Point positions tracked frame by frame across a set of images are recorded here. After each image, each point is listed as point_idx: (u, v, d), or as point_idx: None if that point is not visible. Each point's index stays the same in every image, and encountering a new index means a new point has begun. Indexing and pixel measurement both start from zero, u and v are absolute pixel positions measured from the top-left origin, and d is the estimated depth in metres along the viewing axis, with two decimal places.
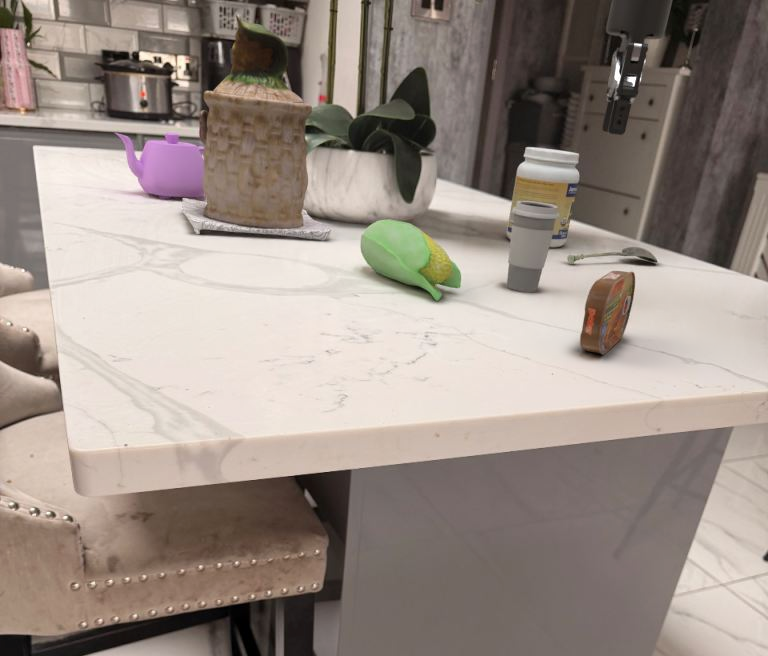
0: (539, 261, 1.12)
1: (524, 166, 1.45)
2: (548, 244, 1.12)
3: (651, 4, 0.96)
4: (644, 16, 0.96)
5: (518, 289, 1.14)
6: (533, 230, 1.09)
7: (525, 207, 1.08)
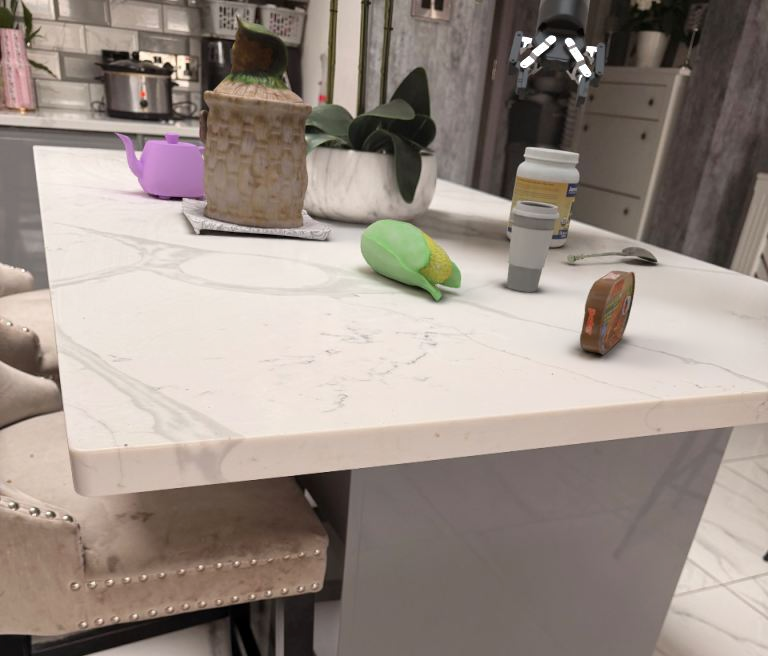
0: (539, 261, 1.12)
1: (524, 166, 1.45)
2: (548, 244, 1.12)
3: (540, 12, 1.17)
4: None
5: (518, 289, 1.14)
6: (533, 230, 1.09)
7: (525, 207, 1.08)
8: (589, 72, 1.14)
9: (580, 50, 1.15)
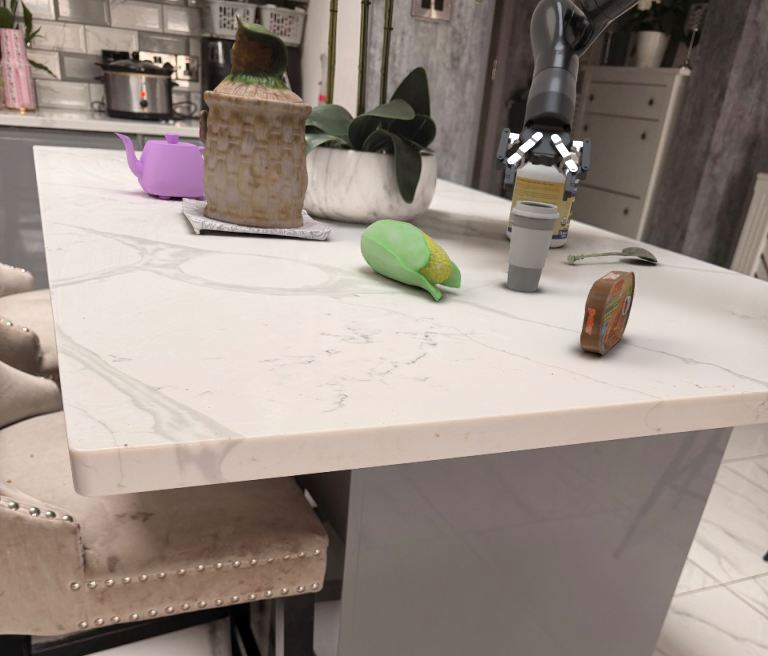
0: (539, 261, 1.12)
1: (524, 166, 1.45)
2: (548, 244, 1.12)
3: (527, 109, 1.20)
4: None
5: (518, 289, 1.14)
6: (533, 231, 1.09)
7: (525, 207, 1.08)
8: (575, 167, 1.16)
9: (566, 145, 1.17)
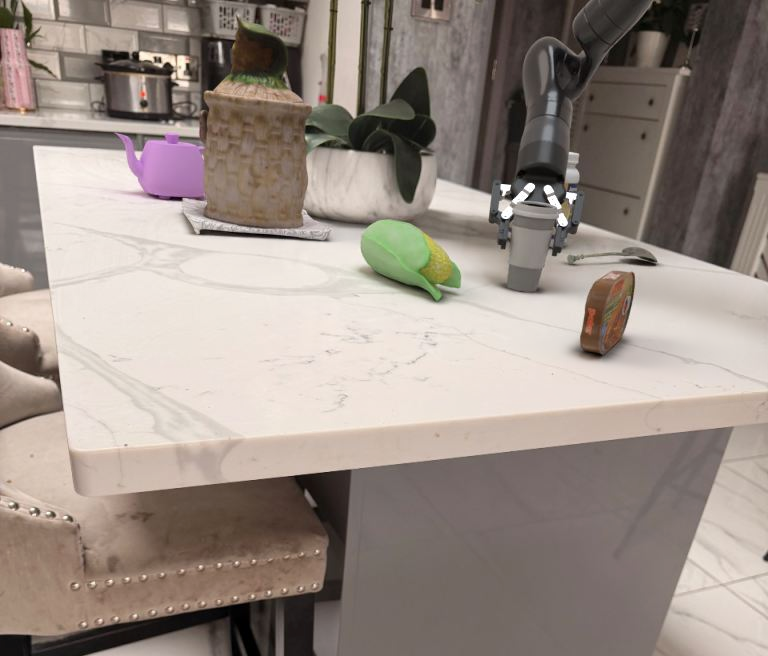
0: (539, 261, 1.12)
1: None
2: (548, 244, 1.12)
3: (519, 157, 1.15)
4: None
5: (518, 289, 1.14)
6: (533, 230, 1.09)
7: (525, 207, 1.08)
8: (565, 222, 1.11)
9: (560, 197, 1.13)
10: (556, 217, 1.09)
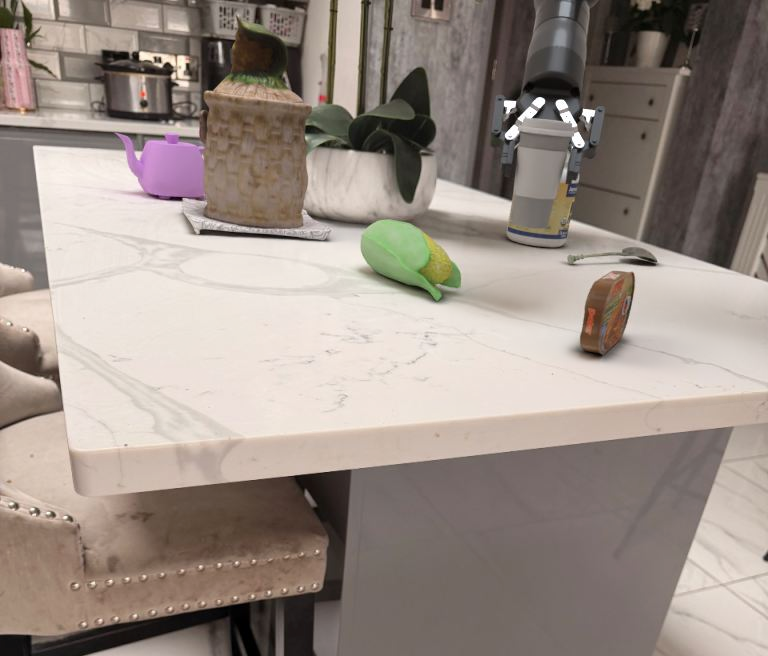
0: (551, 190, 0.94)
1: None
2: (561, 169, 0.93)
3: (526, 69, 0.97)
4: (523, 80, 0.97)
5: (525, 225, 0.96)
6: (543, 151, 0.91)
7: (534, 122, 0.90)
8: (582, 142, 0.93)
9: (575, 113, 0.94)
10: (571, 135, 0.91)
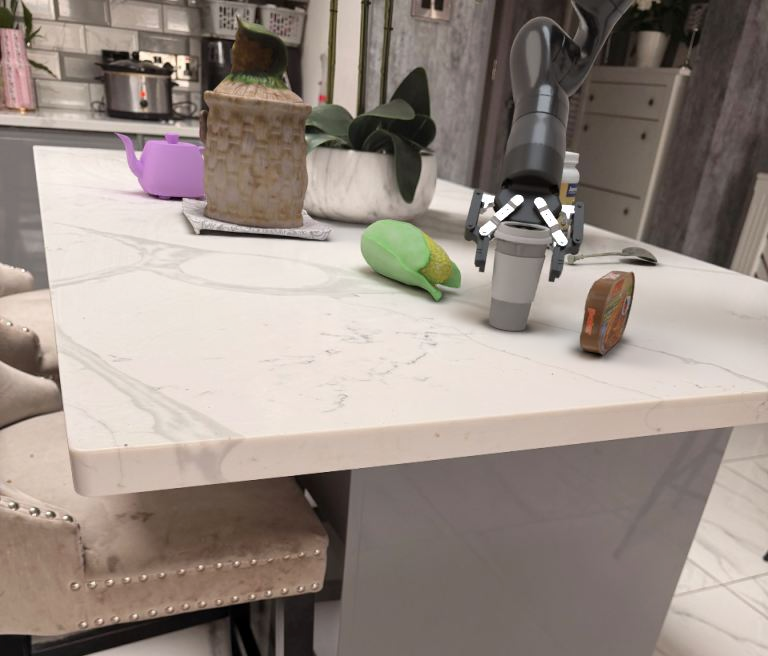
0: (528, 294, 0.92)
1: None
2: (538, 274, 0.92)
3: (505, 163, 0.95)
4: None
5: (502, 328, 0.94)
6: (520, 258, 0.90)
7: (510, 230, 0.89)
8: (565, 240, 0.92)
9: (554, 211, 0.93)
10: (548, 242, 0.90)
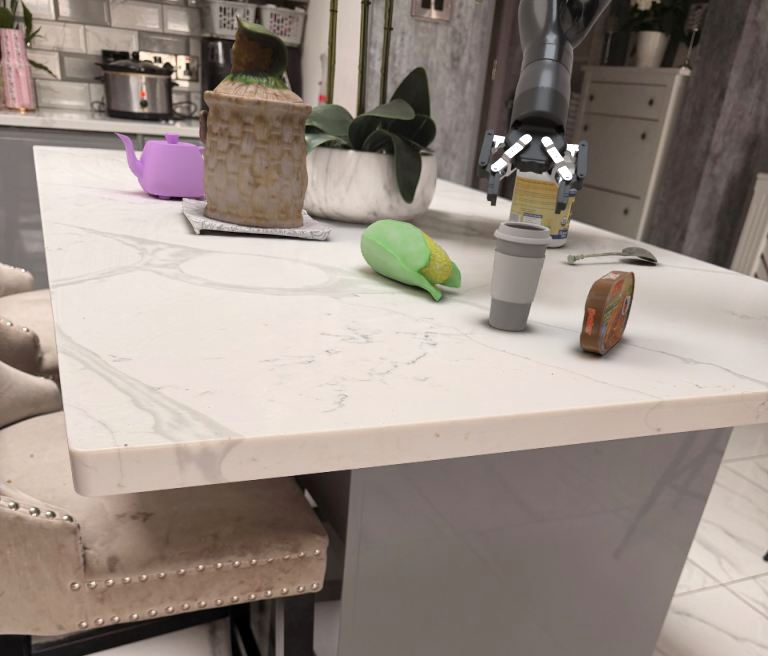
0: (528, 294, 0.92)
1: None
2: (538, 274, 0.92)
3: (514, 107, 1.04)
4: (511, 118, 1.04)
5: (502, 328, 0.94)
6: (520, 258, 0.90)
7: (510, 230, 0.89)
8: (570, 175, 1.00)
9: (559, 149, 1.01)
10: (548, 242, 0.90)
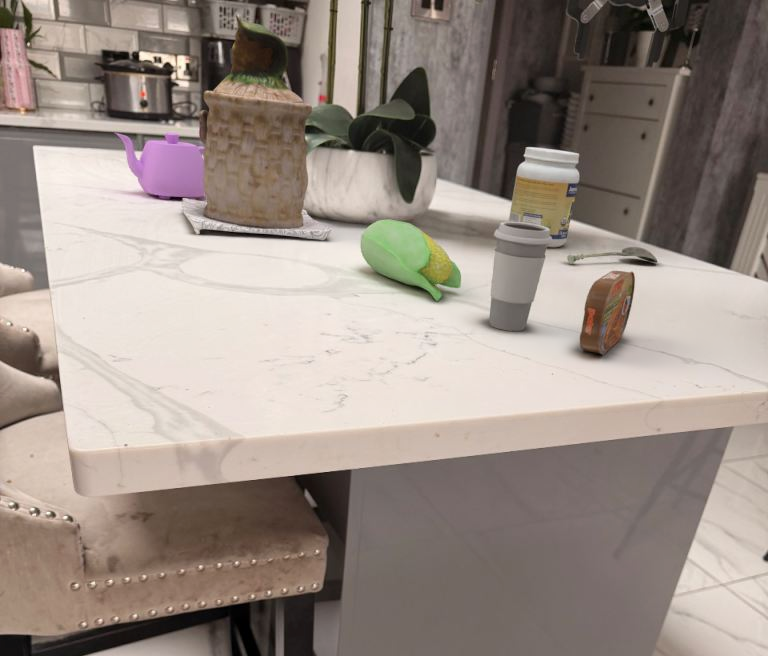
0: (528, 294, 0.92)
1: (524, 166, 1.45)
2: (538, 274, 0.92)
3: None
4: None
5: (502, 328, 0.94)
6: (520, 258, 0.90)
7: (510, 230, 0.89)
8: (666, 24, 0.93)
9: None
10: (548, 242, 0.90)
